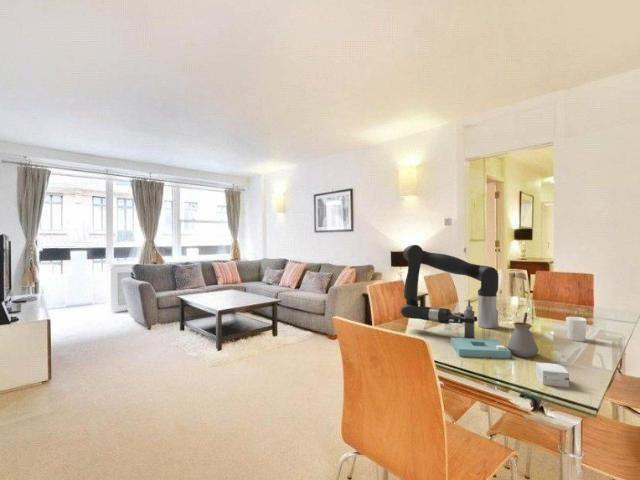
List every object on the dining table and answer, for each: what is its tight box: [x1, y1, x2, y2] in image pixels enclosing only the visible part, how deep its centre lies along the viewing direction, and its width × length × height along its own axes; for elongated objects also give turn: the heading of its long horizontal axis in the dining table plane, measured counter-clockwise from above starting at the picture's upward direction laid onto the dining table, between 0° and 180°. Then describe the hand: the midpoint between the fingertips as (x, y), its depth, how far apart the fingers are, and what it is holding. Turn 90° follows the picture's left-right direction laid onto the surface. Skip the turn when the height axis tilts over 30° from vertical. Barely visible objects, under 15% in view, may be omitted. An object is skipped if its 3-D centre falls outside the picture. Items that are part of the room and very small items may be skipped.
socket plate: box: [450, 337, 512, 359], centre depth 147 cm, size 20×16×4 cm
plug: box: [463, 299, 476, 338], centre depth 162 cm, size 4×4×19 cm
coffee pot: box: [506, 312, 539, 358], centre depth 146 cm, size 21×12×15 cm, turn 142°
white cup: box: [565, 316, 588, 342], centre depth 160 cm, size 8×8×10 cm
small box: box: [535, 362, 570, 388], centre depth 116 cm, size 8×8×5 cm
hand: (475, 320), depth 160 cm, fingers closed on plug, 4 cm apart
